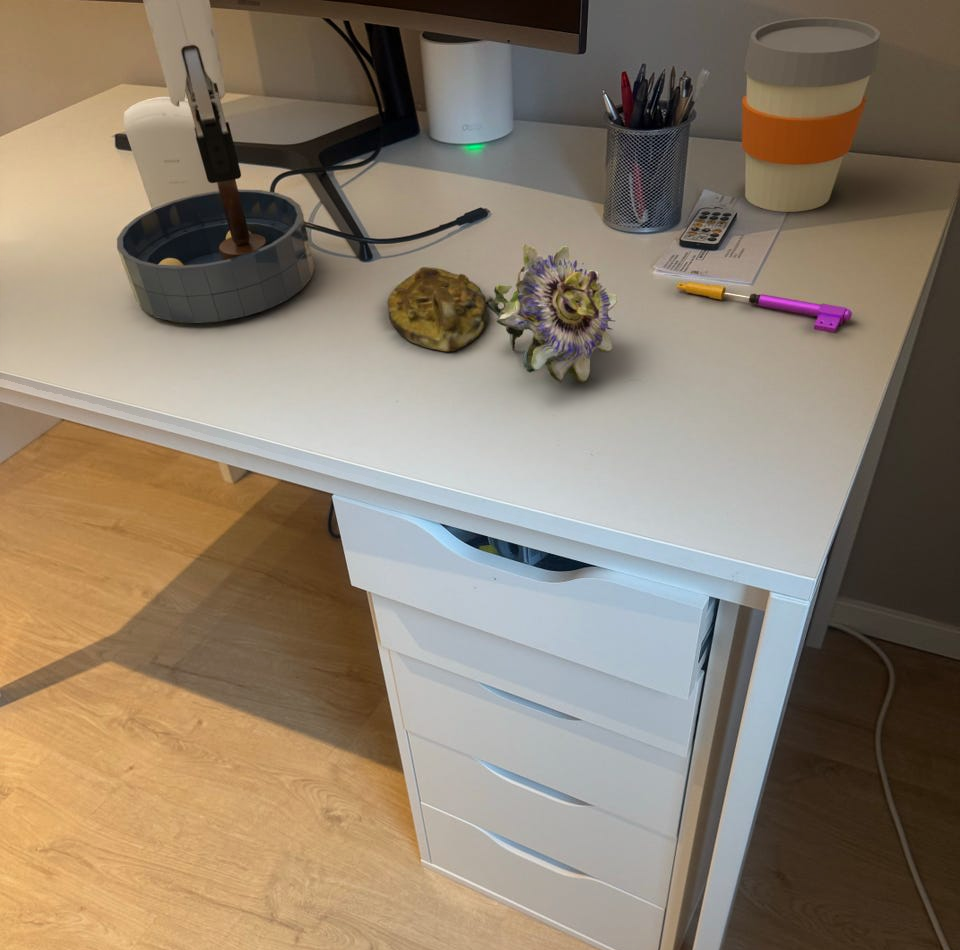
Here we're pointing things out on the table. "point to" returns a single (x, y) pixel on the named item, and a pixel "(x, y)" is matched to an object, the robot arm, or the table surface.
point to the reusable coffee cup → (803, 107)
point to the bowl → (215, 257)
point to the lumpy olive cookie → (438, 309)
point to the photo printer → (166, 150)
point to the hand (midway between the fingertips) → (223, 173)
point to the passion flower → (556, 314)
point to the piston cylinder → (779, 305)
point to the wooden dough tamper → (236, 224)
